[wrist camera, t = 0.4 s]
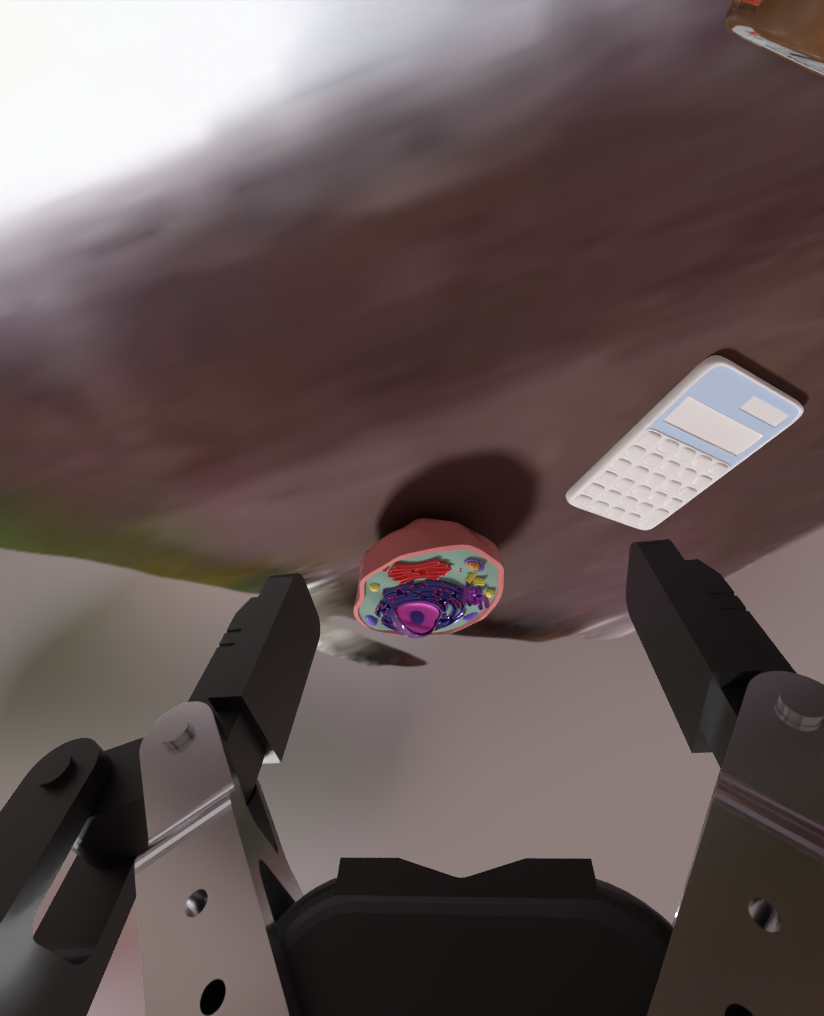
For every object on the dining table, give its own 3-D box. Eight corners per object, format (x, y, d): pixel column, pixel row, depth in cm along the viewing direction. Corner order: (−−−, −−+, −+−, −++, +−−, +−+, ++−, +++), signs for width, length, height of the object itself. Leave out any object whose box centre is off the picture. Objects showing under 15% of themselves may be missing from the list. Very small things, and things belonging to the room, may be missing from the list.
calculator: (560, 493, 53) (564, 505, 51) (710, 346, 40) (721, 358, 38) (642, 523, 57) (648, 535, 56) (801, 401, 44) (814, 412, 43)
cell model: (528, 519, 55) (550, 601, 47) (433, 596, 67) (439, 671, 60) (411, 466, 48) (415, 552, 40) (328, 562, 60) (320, 642, 52)
